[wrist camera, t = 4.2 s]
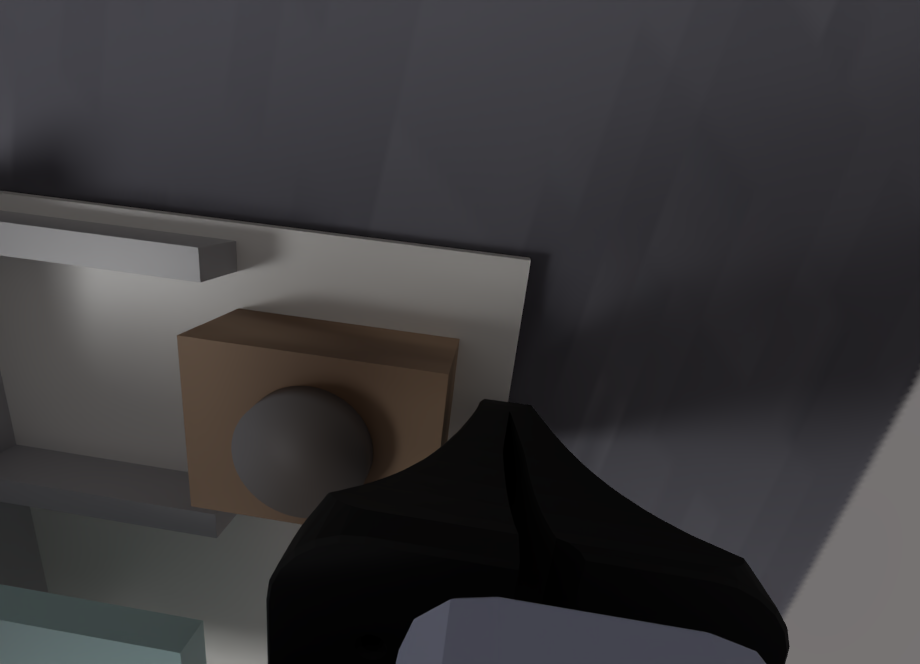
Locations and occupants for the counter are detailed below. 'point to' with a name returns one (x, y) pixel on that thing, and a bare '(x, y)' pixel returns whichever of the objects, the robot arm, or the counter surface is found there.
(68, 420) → the housing
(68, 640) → the cover
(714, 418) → the counter surface
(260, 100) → the counter surface
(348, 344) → the block
